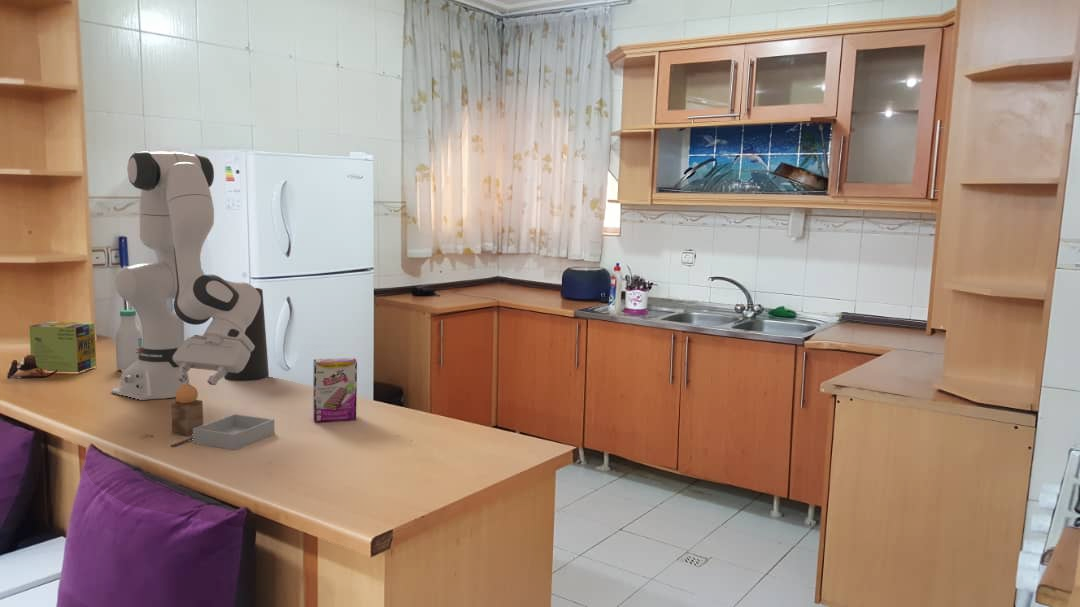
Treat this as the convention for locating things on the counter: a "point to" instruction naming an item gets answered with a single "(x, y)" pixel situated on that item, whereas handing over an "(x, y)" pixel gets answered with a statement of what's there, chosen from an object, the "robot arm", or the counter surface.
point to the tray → (233, 431)
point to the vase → (255, 349)
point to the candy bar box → (334, 389)
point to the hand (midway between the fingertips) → (195, 382)
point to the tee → (186, 417)
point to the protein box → (63, 346)
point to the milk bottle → (127, 340)
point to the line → (182, 442)
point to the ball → (186, 394)
